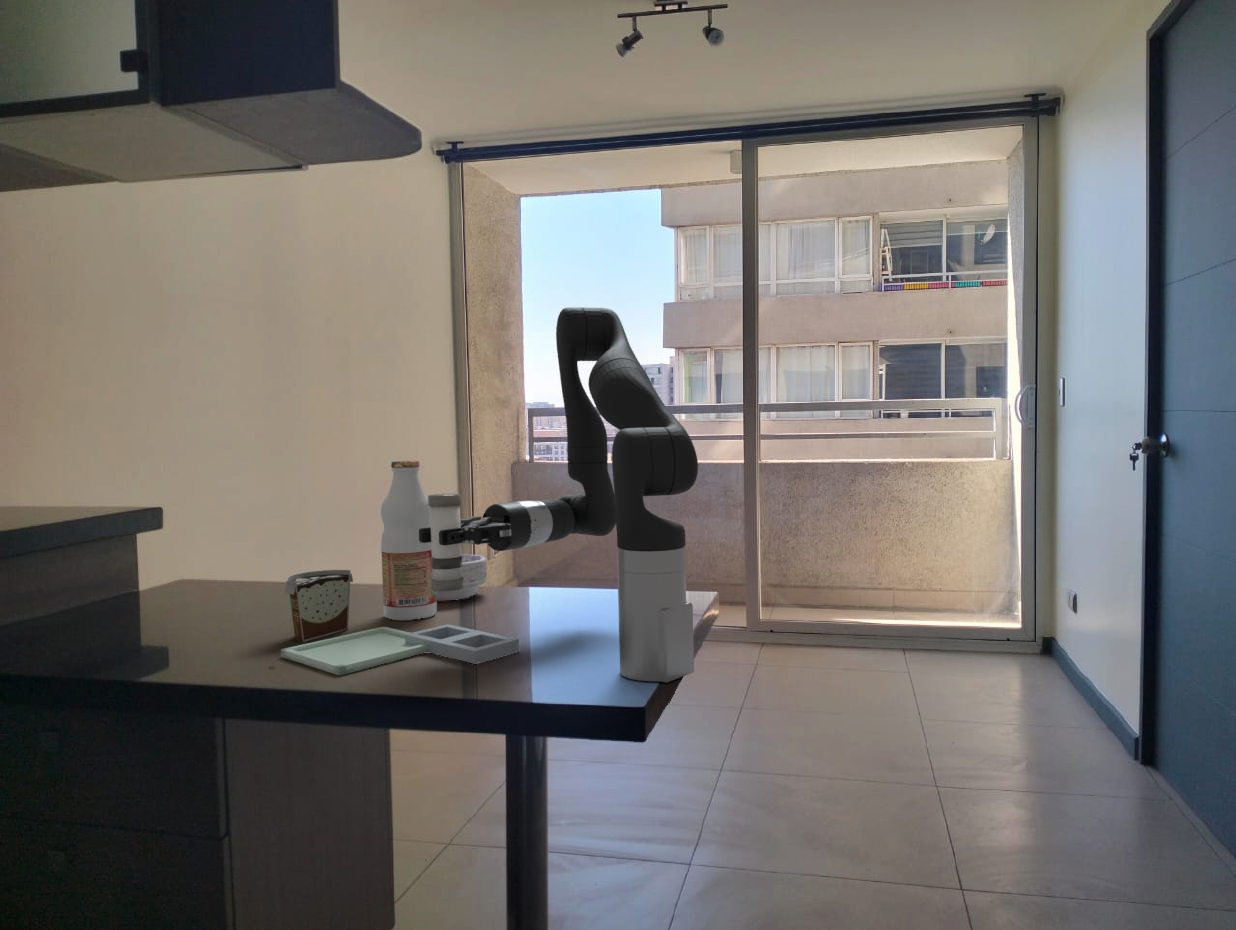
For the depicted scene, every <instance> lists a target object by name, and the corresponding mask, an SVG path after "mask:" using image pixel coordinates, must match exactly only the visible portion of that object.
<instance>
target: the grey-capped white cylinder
mask: <svg viewBox="0 0 1236 930" xmlns="http://www.w3.org/2000/svg"><path fill="white" fill-rule="evenodd" d="M427 497H428V506H430V526H431V553H432V557H431V562H432V579H431V589H432V590H434V591H454V590H459V589H462V588H464V577H463V576H462V554H463V553H462V543H458V544H452V545H445V546H444V545H440V544H439V532H440V531H441V530H447V529H455V528H461V525H460V519H461V505H462V495H461V493H438V494H437V493H435V494H428V495H427Z"/></svg>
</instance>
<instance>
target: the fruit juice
mask: <svg viewBox="0 0 1236 930" xmlns="http://www.w3.org/2000/svg"><path fill="white" fill-rule="evenodd" d="M390 466H391V471H392V472H393V476H392V481H391V484H390V489H389V491H388V493H387V495H386V497H385V498H384V500H383V502H382V503H381V506H380V516H381V520H382V524H383V531H382V534H381V539H380V540H381V541H380V543H381V544H380V548H381V549H380V551H381V570H382V572H381V574H382V600H383V604H382V605H383V615H384V617H385V618H386V619H387V618H388V619H387V620H391V619H392V620H391V621H414V620H413V619H418V620H422V619H421V618H423V619H428V618H430V617H433V616H435V615H436V613H437V609H438V601H437V596H436V591H434V590H432V589H431V579H432V562H431V557H432V553H431V542H428V543H421V542H420V541H419V529H420V528H425V527H431V526H430V506H428V495H427V494H426V493H425V491H424V488H423V486H422V483H421V480H420V477H419V470H420V462H419V460H396V461H395V460H394V461H391V465H390Z"/></svg>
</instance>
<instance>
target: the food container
mask: <svg viewBox="0 0 1236 930" xmlns="http://www.w3.org/2000/svg"><path fill="white" fill-rule="evenodd" d="M352 574H353V573H351V569H350V570H349V569H325V570H323V569H322V570H313V571H307V572H300V573H296V574H292V575H290V576H288V577H287V581H285V586H284V593H286V594H288V595H289V602H290V609H291V618H292V623H293V624H292V625H293V631H294V632H293V633H294V638H295V639H294V640H296V641H297V642H301V643H304V642H308V641H311V640H315V639H319V638H322V637H327V636H329V635H334V634H337V632H338V633H341V632H344V631H343V630H345V631H347V630H346V629H348V630H349V621H350V620H349V617H350V615H349V613H350V594H351V583H353V582H354V578H353V575H352ZM340 631H341V632H340Z"/></svg>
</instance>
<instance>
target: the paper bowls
mask: <svg viewBox="0 0 1236 930" xmlns="http://www.w3.org/2000/svg"><path fill="white" fill-rule="evenodd" d="M487 561H488V560H487V557H485V556H483V555H478V554H471V553H470V554H469V553H462V576H463V577H464V588H462V589H459V590H454V591H436V596H437V602H444V601H443V600H456V599H462V598H466V597H470V596H472V597H474V596H475V595H476V593H477V591H478V590H479V587H480V585H481V586H482V585H484V584H485V583H487V582H488V579H487V578H488V571H487V570H488V563H487ZM473 595H474V596H473ZM470 598H471V597H470Z"/></svg>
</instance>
